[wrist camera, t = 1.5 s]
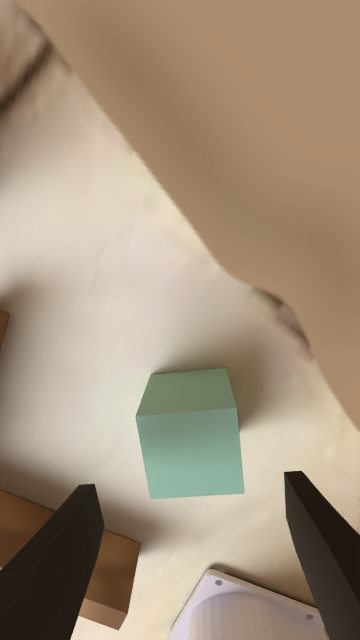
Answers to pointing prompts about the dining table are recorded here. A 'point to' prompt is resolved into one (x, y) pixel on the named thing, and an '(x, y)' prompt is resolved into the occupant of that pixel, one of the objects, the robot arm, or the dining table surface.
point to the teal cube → (190, 435)
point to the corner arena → (112, 562)
